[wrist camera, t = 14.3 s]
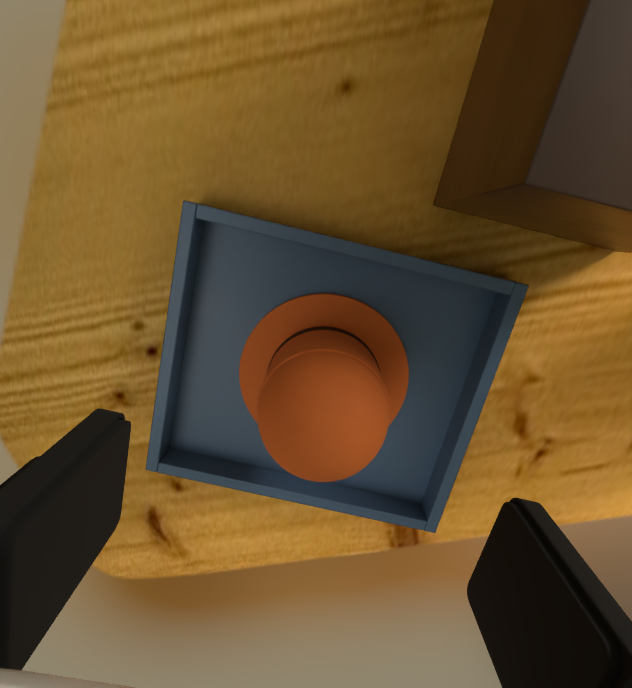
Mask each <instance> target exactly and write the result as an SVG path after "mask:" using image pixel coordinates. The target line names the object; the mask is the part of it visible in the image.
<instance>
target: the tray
mask: <svg viewBox="0 0 632 688" xmlns="http://www.w3.org/2000/svg"><path fill="white" fill-rule="evenodd" d="M528 287H529V286H528V285H526V284H522V283H519V282H515V281H511V280H508V279H503V278H499V277H495V276H491V275H487V274H483V273H479V272H475V271H471V270H467V269H463V268H459V267H455V266H451V265H447V264H442V263H438V262H434V261H430V260H426V259H422V258H418V257H414V256H410V255H406V254H402V253H398V252H394V251H390V250H386V249H382V248H377V247H373V246H369V245H365V244H361V243H357V242H353V241H349V240H345V239H341V238H337V237H333V236H329V235H325V234H321V233H316V232H312V231H308V230H304V229H300V228H296V227H292V226H288V225H284V224H280V223H276V222H272V221H268V220H264V219H260V218H255V217H251V216H247V215H243V214H239V213H235V212H231V211H227V210H223V209H219V208H215V207H211V206H207V205H203V204H199V203H194V202H189V201H183V206H182V213H181V221H180V228H179V235H178V242H177V249H176V256H175V263H174V270H173V278H172V285H171V292H170V299H169V306H168V313H167V320H166V327H165V335H164V342H163V349H162V356H161V363H160V370H159V377H158V384H157V392H156V399H155V406H154V413H153V420H152V427H151V434H150V442H149V449H148V456H147V463H146V470H149V471H154V472H157V471H158V473H163V474H167V475H172V476H176V477H181V478H186V479H190V480H195V481H199V482H204V483H209V484H213V485H218V486H222V487H227V488H232V489H236V490H241V491H245V492H250V493H254V494H259V495H264V496H268V497H273V498H277V499H282V500H287V501H291V502H296V503H300V504H305V505H309V506H314V507H319V508H323V509H328V510H332V511H337V512H342V513H346V514H351V515H355V516H360V517H365V518H369V519H374V520H378V521H383V522H387V523H392V524H397V525H401V526H406V527H410V528H415V529H420V530H425V531H428V532H432V533H435V532H436V529H437V527H438V524H439V521H440V519H441V516H442V513H443V511H444V508H445V505H446V503H447V500H448V498H449V495H450V492H451V490H452V487H453V484H454V482H455V479H456V476H457V474H458V471H459V469H460V466H461V463H462V461H463V458H464V455H465V453H466V450H467V447H468V445H469V442H470V440H471V437H472V434H473V432H474V429H475V426H476V424H477V421H478V418H479V416H480V413H481V411H482V408H483V405H484V403H485V400H486V397H487V395H488V392H489V389H490V387H491V384H492V381H493V379H494V376H495V374H496V371H497V368H498V366H499V363H500V360H501V358H502V355H503V352H504V350H505V347H506V345H507V342H508V339H509V337H510V334H511V331H512V329H513V326H514V323H515V321H516V318H517V316H518V313H519V310H520V308H521V305H522V302H523V300H524V297H525V294H526V292H527V289H528ZM316 293H333V294H339V295H345V296H348V297H351V298H354V299H357V300H359V301H361V302H363V303H366V304H367V305H369V306H370V307H372V308H373V309H375V310H376V311H377V312H379V313H380V314H381V315H382V316H383V317H384V318H385V319H386V320H387V321H388V322H389V323H390V324H391V325H392V327H393V328H394V330H395V331H396V333H397V334H398V336H399V338H400V340H401V342H402V344H403V346H404V349H405V352H406V355H407V361H408V367H409V380H408V388H407V392H406V396H405V399H404V402H403V404H402V407H401V409H400V410H399V412H398V414H397V416H396V417H395V418H394V420H393V421H392V422H391V424H390V425H389V426H388V430H387V434H386V437H385V440H384V442H383V444H382V447H381V448H380V450H379V452H378V453H377V455H376V456H375V457H374V459H373V460H372V461H371V462H370V463H369V464H368V465H367V466H366V467H365V468H363V469H362V470H361V471H359V472H358V473H356V474H354V475H352V476H350V477H348V478H345V479H342V480H338V481H332V482H315V481H309V480H305V479H302V478H299V477H297V476H295V475H293V474H291V473H289V472H288V471H286V470H285V469H283V468H282V467H281V466H280V465H279V464H278V463H277V462H276V461H275V460H274V459H273V458H272V456H271V455H270V454H269V452H268V451H267V449H266V447H265V445H264V443H263V441H262V438H261V435H260V432H259V427H258V423H257V422H256V421H255V420H254V418H253V417H252V415H251V414H250V412H249V410H248V408H247V406H246V404H245V402H244V399H243V396H242V392H241V388H240V381H239V367H240V359H241V355H242V352H243V348H244V346H245V344H246V341H247V339H248V337H249V336H250V334H251V332H252V331H253V329H254V328H255V327H256V325H257V324H258V323H259V322H260V320H261V319H262V318H263V317H264V316H265V315H267V314H268V313H269V312H270V311H271V310H273V309H274V308H276V307H277V306H279V305H280V304H282V303H284V302H286V301H288V300H291V299H293V298H296V297H299V296H303V295H308V294H316Z"/></svg>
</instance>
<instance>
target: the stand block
mask: <svg viewBox="0 0 632 688" xmlns="http://www.w3.org/2000/svg"><path fill="white" fill-rule="evenodd" d="M433 205H434V206H438V207H442V208H446V209H450V210H454V211H458V212H462V213H466V214H470V215H474V216H477V217H481V218H485V219H489V220H493V221H497V222H501V223H505V224H509V225H513V226H517V227H521V228H525V229H529V230H533V231H537V232H541V233H545V234H549V235H553V236H557V237H561V238H565V239H569V240H573V241H577V242H581V243H585V244H589V245H593V246H597V247H601V248H605V249H609V250H613V251H617V252H629V253H632V0H494V3H493V6H492V9H491V13H490V16H489V19H488V23H487V26H486V29H485V33H484V36H483V39H482V43H481V46H480V49H479V53H478V56H477V59H476V63H475V66H474V69H473V73H472V76H471V79H470V83H469V86H468V90H467V93H466V96H465V100H464V103H463V106H462V110H461V113H460V116H459V120H458V123H457V126H456V130H455V133H454V136H453V140H452V143H451V146H450V150H449V153H448V156H447V160H446V163H445V166H444V170H443V173H442V177H441V180H440V183H439V187H438V190H437V193H436V197H435V200H434V203H433Z"/></svg>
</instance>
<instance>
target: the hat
mask: <svg viewBox="0 0 632 688" xmlns="http://www.w3.org/2000/svg"><path fill="white" fill-rule="evenodd" d="M408 380H409V367H408V361H407V355H406V352H405V349H404V346H403V344H402V342H401V340H400V338H399V336H398V334H397V333H396V331H395V330H394V328H393V327H392V325H391V324H390V323H389V322H388V321H387V320H386V319H385V318H384V317H383V316H382V315H381V314H380V313H379V312H377V311H376V310H375V309H373V308H372V307H370V306H369V305H367V304H366V303H363V302H361V301H359V300H357V299H354V298H351V297H348V296H345V295H339V294H333V293H316V294H308V295H303V296H299V297H296V298H293V299H291V300H288V301H286V302H284V303H282V304H280V305H279V306H277V307H276V308H274V309H273V310H271V311H270V312H269V313H268V314H267V315H265V316H264V317H263V318H262V319H261V320H260V322H259V323H258V324H257V325H256V327H255V328H254V329H253V331H252V332H251V334H250V336H249V337H248V339H247V341H246V344H245V346H244V348H243V352H242V355H241V359H240V367H239V381H240V388H241V392H242V396H243V399H244V402H245V404H246V406H247V408H248V410H249V412H250V414H251V415H252V417H253V418H254V420H255V421H256V422H257V423H258V427H259V432H260V435H261V438H262V441H263V443H264V445H265V447H266V449H267V451H268V452H269V454H270V455H271V456H272V458H273V459H274V460H275V461H276V462H277V463H278V464H279V465H280V466H281V467H282V468H283V469H285V470H286V471H288V472H289V473H291V474H293V475H295V476H297V477H299V478H302V479H305V480H309V481H315V482H332V481H338V480H342V479H345V478H348V477H350V476H352V475H354V474H356V473H358V472H359V471H361V470H362V469H363V468H365V467H366V466H367V465H368V464H369V463H370V462H371V461H372V460H373V459H374V457H375V456H376V455H377V453H378V452H379V450H380V448H381V447H382V444H383V442H384V440H385V437H386V434H387V430H388V426H389V425H390V424H391V422H392V421H393V420H394V418H395V417H396V416H397V414H398V412H399V410H400V409H401V407H402V404H403V402H404V399H405V396H406V392H407V388H408Z"/></svg>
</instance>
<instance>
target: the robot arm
mask: <svg viewBox="0 0 632 688" xmlns="http://www.w3.org/2000/svg"><path fill="white" fill-rule="evenodd" d="M130 432H131V422H130V421H126V420H125V416H124V414H123V413H118V412H114V411H109V410H104V409H96V410H95V411H94V412H92V413H91V414H90V415H89V416H88V417H87V418H85V419H84V420H83V421H82V422H81V423H79V424H78V425H77V426H76V427H75V428H73V429H72V430H71V431H70V432H69V433H67V434H66V435H65V436H64V437H63V438H62V439H60V440H59V441H58V442H57V443H56V444H54V445H53V446H52V447H51V448H50V449H48V450H47V451H46V452H45V453H44V454H42V455H41V456H39V457H35V458H34V459H32V460H30V461H29V462H28V463H27V464H25V465H24V466H23V467H22V468H21V469H19V470H18V471H17V472H16V473H15V474H13V475H12V476H11V477H10V478H8V479H7V480H6V481H5V482H4V483H2V484H1V485H0V688H133V687H127V686H121V685H115V684H109V683H102V682H95V681H89V680H82V679H75V678H68V677H62V676H55V675H49V674H42V673H35V672H29V671H22V668H23V667H24V665H25V664H26V662H27V661H28V659H29V658H30V656H31V655H32V653H33V652H34V650H35V649H36V647H37V646H38V644H39V643H40V641H41V640H42V638H43V637H44V635H45V634H46V632H47V631H48V629H49V628H50V626H51V625H52V623H53V622H54V620H55V619H56V617H57V616H58V614H59V613H60V611H61V610H62V608H63V607H64V605H65V604H66V602H67V601H68V599H69V598H70V596H71V595H72V593H73V592H74V590H75V589H76V587H77V586H78V584H79V583H80V581H81V580H82V578H83V577H84V575H85V574H86V572H87V571H88V569H89V568H90V566H91V565H92V563H93V562H94V560H95V559H96V557H97V556H98V554H99V553H100V551H101V550H102V548H103V547H104V545H105V544H106V542H107V541H108V539H109V538H110V536H111V535H112V533H113V532H114V530H115V529H116V527H117V524H118V522H119V519H120V515H121V509H122V500H123V492H124V483H125V475H126V466H127V457H128V449H129V440H130ZM467 595H468V600H469V603H470V606H471V608H472V611H473V613H474V616H475V618H476V621H477V624H478V626H479V629H480V631H481V634H482V637H483V639H484V642H485V644H486V647H487V649H488V652H489V655H490V657H491V659H492V662H493V665H494V667H495V670H496V673H497V675H498V678H499V680H500V683H501V685H502V688H632V621H631V620H630V619H629V617H628V616H627V615H626V614H625V612H624V611H623V610H622V608H621V607H620V606H619V605H618V603H617V602H616V601H615V599H614V598H613V597H612V596H611V594H610V593H609V592H608V590H607V589H606V588H605V587H604V585H603V584H602V583H601V582H600V580H599V579H598V578H597V576H596V575H595V574H594V572H593V571H592V570H591V568H590V567H589V566H588V565H587V563H586V562H585V561H584V559H583V558H582V557H581V556H580V554H579V553H578V552H577V551H576V549H575V548H574V547H573V545H572V544H571V543H570V541H569V540H568V539H567V537H566V536H565V535H564V534H563V532H562V531H561V530H560V528H559V527H558V526H557V525H556V523H555V522H554V521H553V519H552V518H551V517H550V516H549V514H548V513H547V512H546V510H545V509H544V508H543V507H542V505H540V504H539V503H537V502H533V501H529V500H524V499H519V498H513V499H511V500H510V501H509V502H506V503H504V504H503V506H502V508H501V510H500V512H499V514H498V517H497V519H496V521H495V524H494V526H493V528H492V530H491V533H490V535H489V537H488V539H487V542H486V544H485V546H484V549H483V551H482V553H481V556H480V558H479V560H478V562H477V565H476V567H475V569H474V571H473V574H472V576H471V579H470V580H469V583H468V587H467Z"/></svg>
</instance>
